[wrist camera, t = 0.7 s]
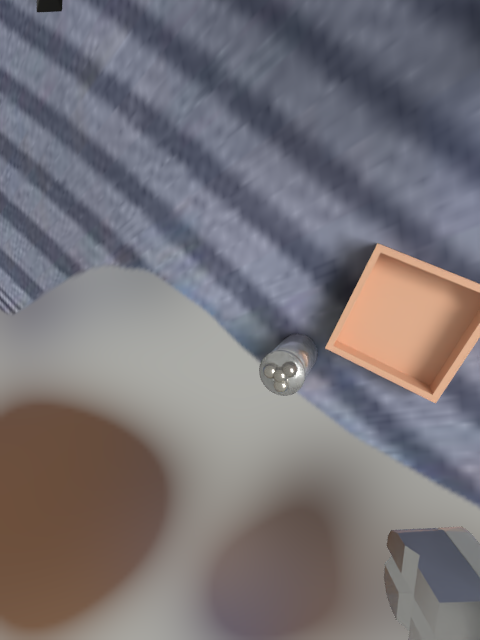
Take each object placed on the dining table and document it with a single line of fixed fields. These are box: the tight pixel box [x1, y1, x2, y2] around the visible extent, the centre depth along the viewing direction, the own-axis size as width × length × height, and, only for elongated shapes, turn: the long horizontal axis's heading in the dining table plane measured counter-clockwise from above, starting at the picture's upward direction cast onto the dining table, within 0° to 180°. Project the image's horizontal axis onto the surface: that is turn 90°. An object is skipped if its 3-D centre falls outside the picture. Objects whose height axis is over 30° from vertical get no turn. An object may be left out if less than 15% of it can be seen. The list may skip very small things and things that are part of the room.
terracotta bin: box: [325, 243, 480, 403], centre depth 45 cm, size 15×15×4 cm
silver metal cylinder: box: [259, 334, 318, 396], centre depth 48 cm, size 6×6×11 cm
